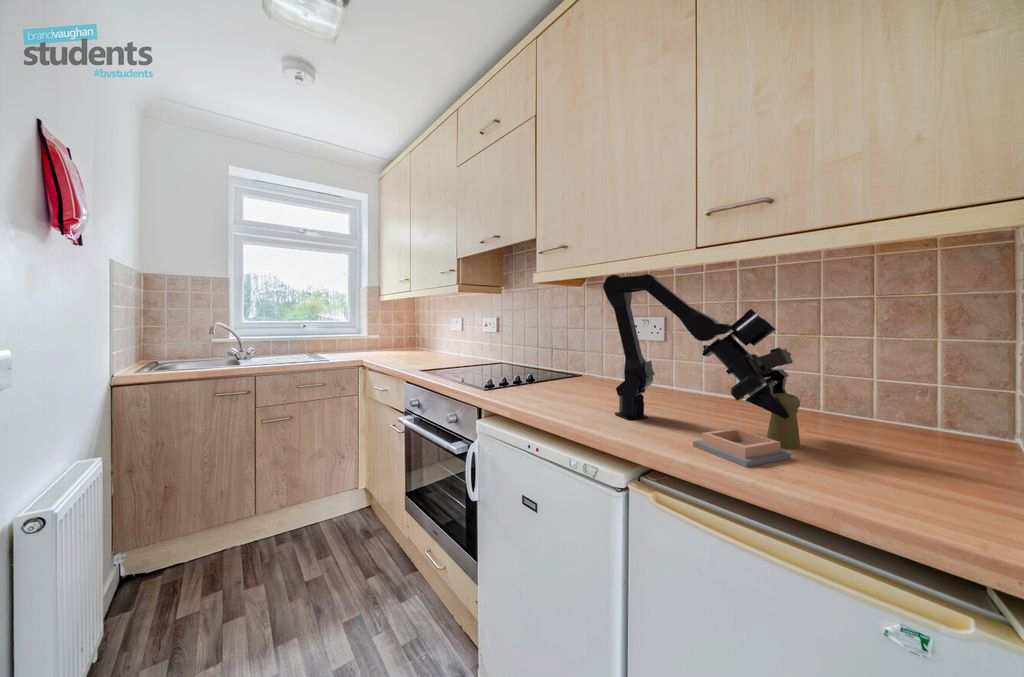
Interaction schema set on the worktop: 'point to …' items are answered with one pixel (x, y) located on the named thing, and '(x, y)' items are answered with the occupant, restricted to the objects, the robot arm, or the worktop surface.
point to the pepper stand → (741, 447)
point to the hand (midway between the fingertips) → (791, 415)
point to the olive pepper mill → (785, 423)
